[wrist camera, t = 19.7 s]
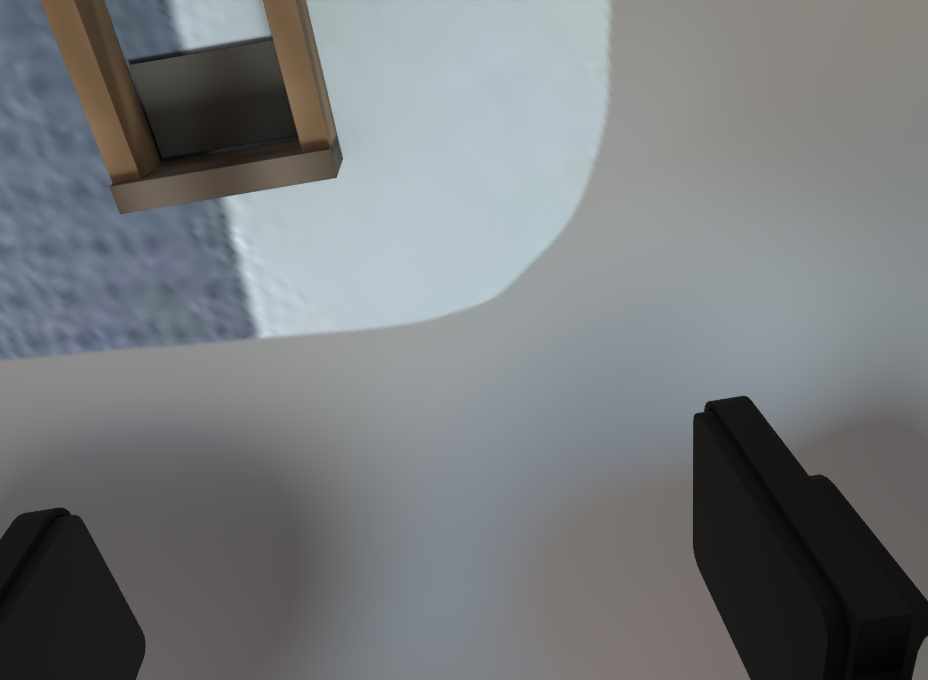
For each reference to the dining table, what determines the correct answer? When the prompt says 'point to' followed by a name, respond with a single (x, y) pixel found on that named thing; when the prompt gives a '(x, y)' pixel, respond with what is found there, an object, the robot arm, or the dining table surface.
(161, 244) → the dining table surface
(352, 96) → the dining table surface
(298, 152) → the channel
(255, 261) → the dining table surface
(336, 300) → the dining table surface
